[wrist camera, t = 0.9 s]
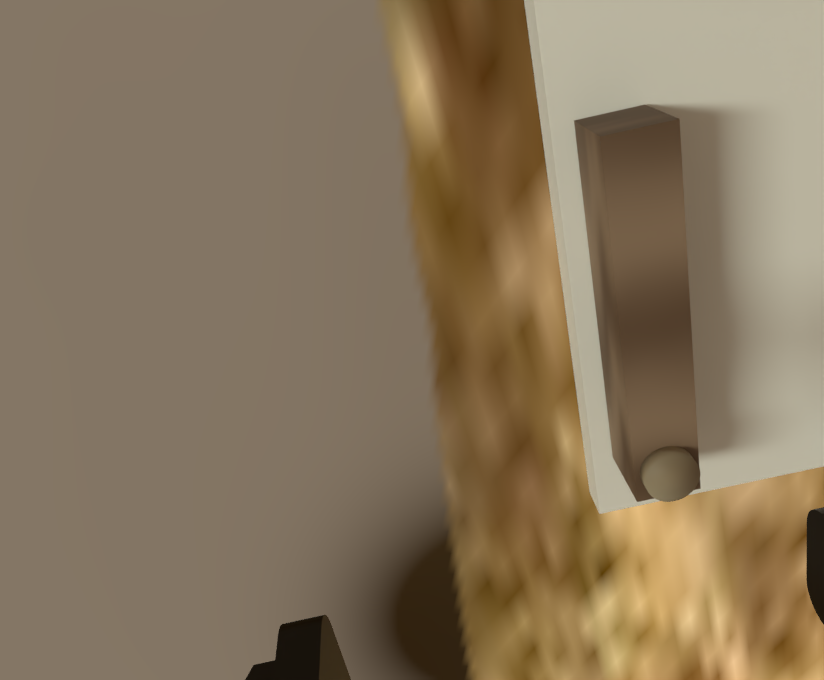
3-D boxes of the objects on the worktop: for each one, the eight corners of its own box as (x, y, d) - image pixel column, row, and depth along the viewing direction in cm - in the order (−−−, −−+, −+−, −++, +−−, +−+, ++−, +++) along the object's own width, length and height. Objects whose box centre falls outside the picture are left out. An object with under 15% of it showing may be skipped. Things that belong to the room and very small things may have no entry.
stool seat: (521, -20, 25) (530, -21, 24) (977, -126, 25) (1013, -132, 23) (589, 492, 34) (599, 513, 33) (926, 421, 34) (950, 439, 32)
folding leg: (670, 445, 31) (707, 498, 28) (612, 457, 31) (642, 511, 28) (644, 104, 26) (687, 122, 22) (573, 120, 26) (605, 140, 22)
